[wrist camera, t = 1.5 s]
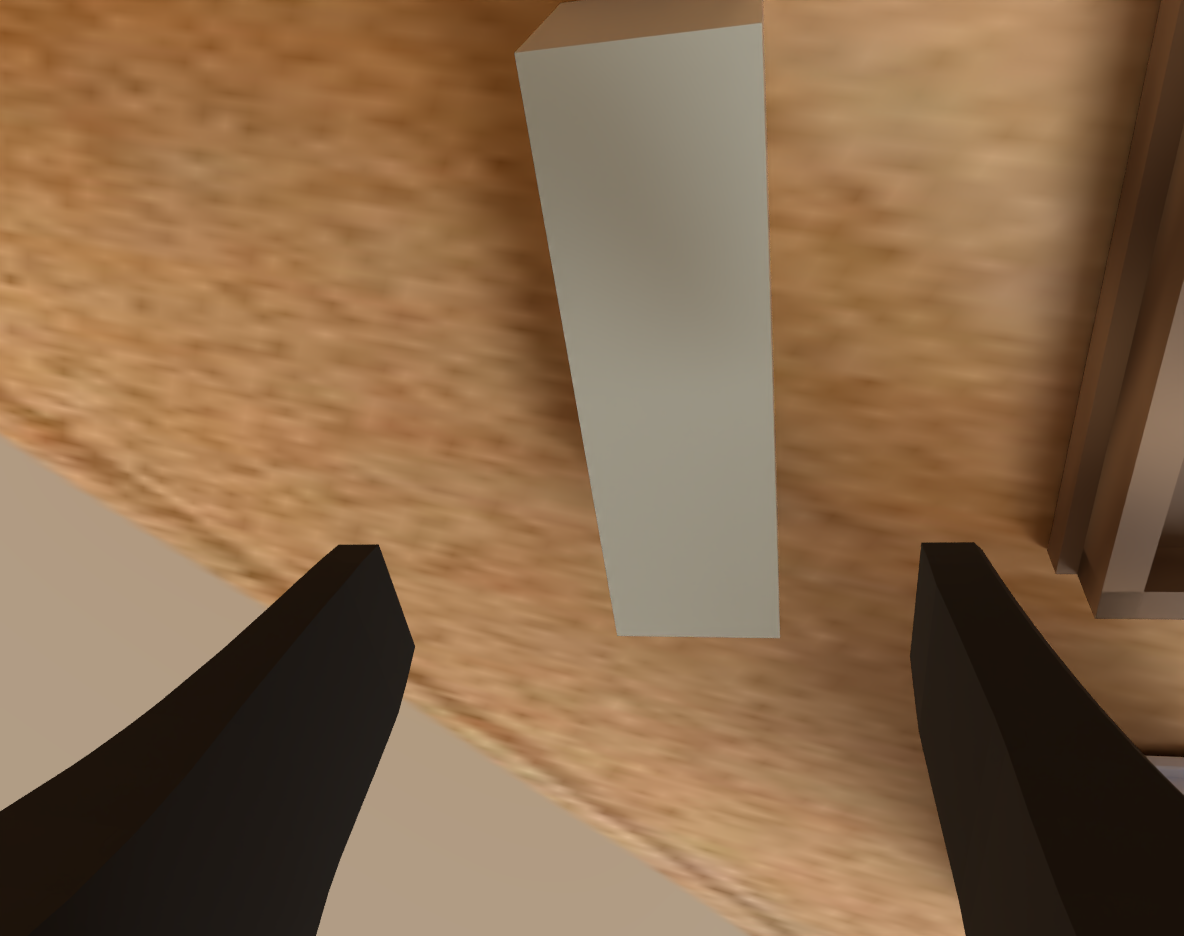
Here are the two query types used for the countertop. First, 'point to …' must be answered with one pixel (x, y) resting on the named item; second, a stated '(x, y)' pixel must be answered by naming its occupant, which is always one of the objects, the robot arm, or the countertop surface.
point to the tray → (1135, 376)
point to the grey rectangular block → (665, 297)
